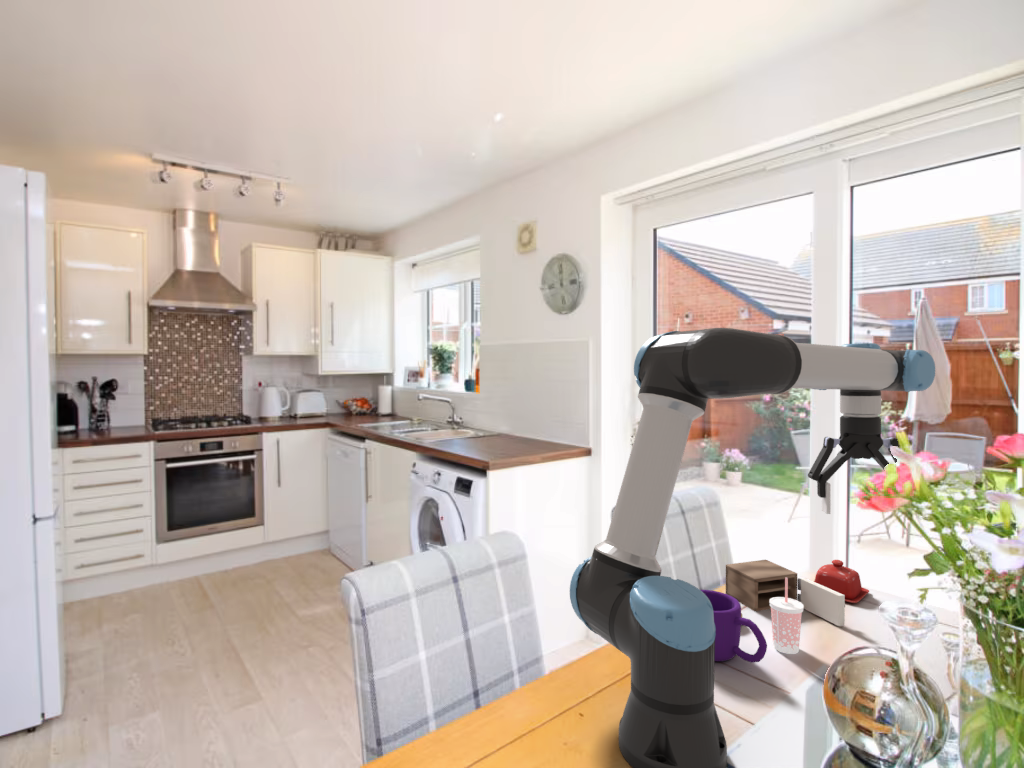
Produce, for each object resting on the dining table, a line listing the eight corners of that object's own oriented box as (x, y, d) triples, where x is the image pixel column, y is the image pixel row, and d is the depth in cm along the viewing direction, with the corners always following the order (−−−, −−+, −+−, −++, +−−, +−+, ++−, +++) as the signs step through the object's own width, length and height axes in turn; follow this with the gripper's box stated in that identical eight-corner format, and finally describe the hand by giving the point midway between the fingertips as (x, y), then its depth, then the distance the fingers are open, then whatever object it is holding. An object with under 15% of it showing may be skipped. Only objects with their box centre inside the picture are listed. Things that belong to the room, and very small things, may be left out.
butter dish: (856, 608, 128) (857, 572, 128) (803, 593, 136) (804, 559, 136) (871, 595, 135) (871, 560, 135) (820, 581, 144) (820, 549, 144)
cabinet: (797, 605, 129) (797, 573, 129) (754, 611, 125) (755, 579, 125) (765, 589, 138) (765, 559, 138) (725, 595, 135) (725, 564, 135)
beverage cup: (810, 651, 108) (811, 580, 107) (789, 658, 105) (790, 585, 104) (782, 638, 113) (782, 570, 113) (762, 644, 110) (762, 575, 110)
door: (795, 604, 128) (795, 576, 128) (804, 602, 129) (805, 575, 129) (838, 626, 117) (839, 596, 117) (848, 624, 118) (849, 594, 118)
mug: (667, 647, 109) (667, 597, 109) (702, 631, 116) (702, 584, 116) (748, 687, 95) (748, 630, 95) (783, 667, 102) (783, 613, 102)
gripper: (915, 413, 120) (915, 510, 121) (792, 413, 124) (792, 507, 125) (935, 416, 113) (934, 519, 113) (803, 416, 117) (804, 515, 118)
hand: (860, 513), depth 119 cm, fingers open, 13 cm apart
